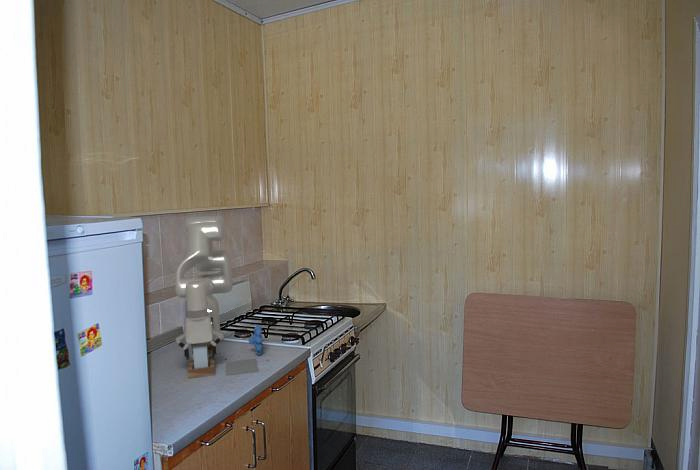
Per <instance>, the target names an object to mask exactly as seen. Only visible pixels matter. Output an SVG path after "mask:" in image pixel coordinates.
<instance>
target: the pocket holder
mask: <svg viewBox="0 0 700 470" xmlns="http://www.w3.org/2000/svg"><path fill="white" fill-rule="evenodd" d="M215 361H216V359H215V358H213V359H208V363H209V367H204V368H196V369H194V361H189V363H188V367H187V379H188V380H189V379H196V378H202V377H204V378H205V377H210V376H215V375H216V374H215V373H216V362H215Z"/></svg>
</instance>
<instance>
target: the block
mask: <svg viewBox="0 0 700 470" xmlns="http://www.w3.org/2000/svg"><path fill="white" fill-rule="evenodd" d="M193 356H194V360H193V362H194V369H196V368H204V367H209V363H208V360H209V358H208V348H207V345H200V346H194V348H193Z"/></svg>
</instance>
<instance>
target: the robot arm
mask: <svg viewBox="0 0 700 470" xmlns="http://www.w3.org/2000/svg"><path fill="white" fill-rule="evenodd" d="M184 227H185V230H186V232H187V256H186V257H185V258H184V259H182V261H181V262H180V263H179V265H178V267H177V269H176V272H175V281H174V282H175V285H174V287H175V288H174V290H175V295H176V296H177V297H178V298H180V299H185V300H186V313H187V317H186V318H185V322H184V325H185V326H184V331H185V332H184V333H182V334H181V335H179V336H177V337H176V338H175V342H176V343H177V345H178V346H179V347H180V348H181V349H182V350H183V354H184V358H186V359H185V360H186V361H188V360H189V359H190V353H189V352H190V351H189V345H191V344H198V343H207V342H210V343H211V344H212V354H213V355H212V357H215V355H216V354H217V345H218V344H219V343H220V342H221V341H223V340H224V339H225V335H224V334H223V332H221V324H220V323H221V321H220V310H219V309H220V308H219V306H220V305H219V301H218V299H217V298H216V297H215V296H214V295H216V294H217V295H218V294H226V293H230V292H231V291H232V290H233V283H234V282H233V271H232V260H231V259H232V258H231V255H230V253H229V251H227V250H224V249H223V250H221V249H220V250H214V242H221V241H223V239H224V236H225V232H226V221H225V218H224V216H222V215H205V216H204V215H202V216H201V215H200V216H199V215H198V216H191V217H188V218H186V219H185V220H184ZM194 267H195V269H196V270H197V271H198V272H211V273H203V274H198V275H197V276H196V277H193V278H192V277H191V278H184V277H185V275H186V273H187V272H188V271H189V270H190V269H193V268H194ZM217 271H218V272H217ZM219 271H220V272H219ZM212 272H217V273H212ZM211 317H213V327H214V330H213V327H212V321H211ZM213 334H214V339H213ZM182 339H184V340H185V343H183V342H182Z"/></svg>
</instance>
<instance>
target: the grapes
mask: <svg viewBox="0 0 700 470" xmlns="http://www.w3.org/2000/svg"><path fill="white" fill-rule="evenodd" d="M262 329H263V328H262V327H261V326H260V325H258V324H257V325H255V327H254V328H253V336H251V337H250V338H249V339H248V343H249V344H250V345H252V346H254V349H255V351H254V352H255V354H257V356H261V355H262V353H263V352H264V349H263V348H264V347H263V342H264V341H265V338H264V337H263V335H262V333H263V332H262V331H263V330H262Z"/></svg>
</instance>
